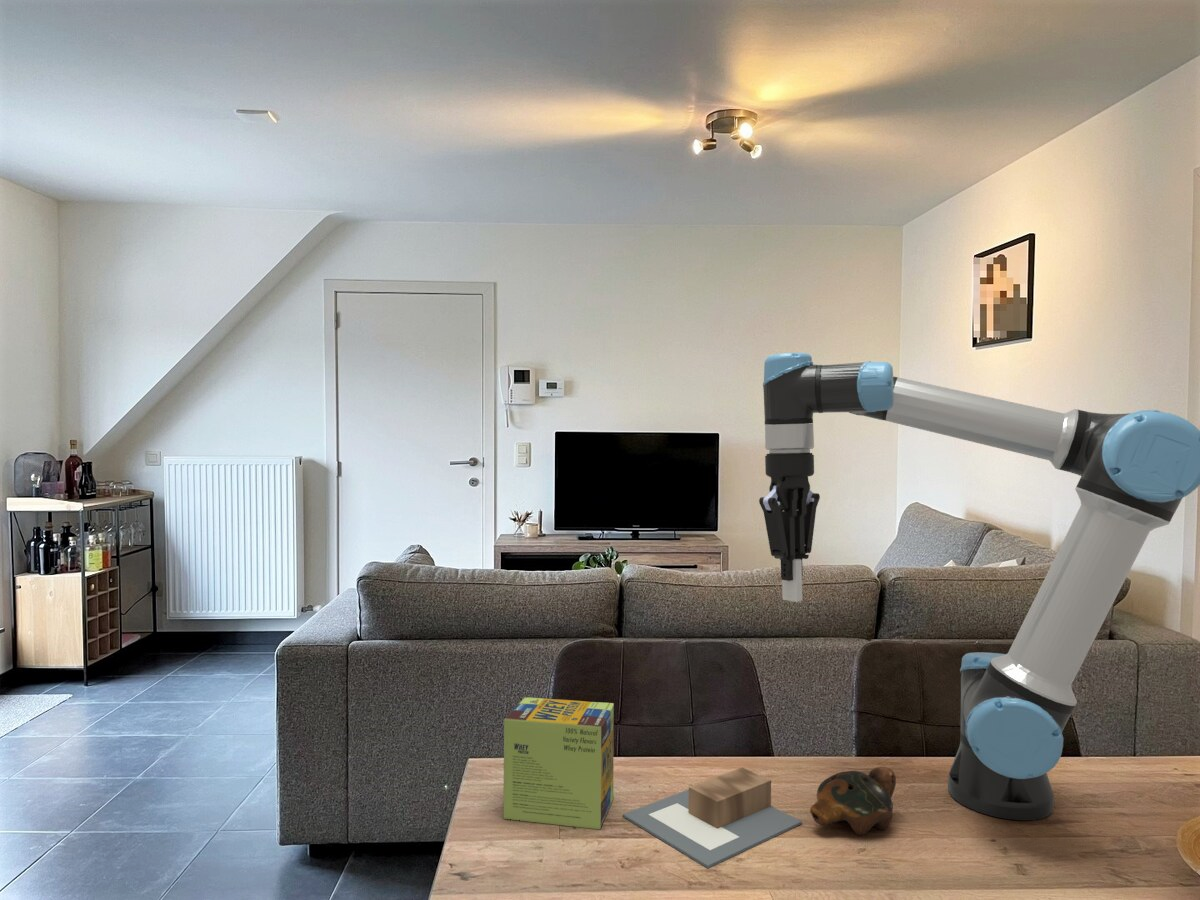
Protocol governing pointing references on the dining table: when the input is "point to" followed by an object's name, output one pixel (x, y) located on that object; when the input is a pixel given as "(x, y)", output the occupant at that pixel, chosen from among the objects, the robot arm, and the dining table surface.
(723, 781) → the walnut block
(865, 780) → the decorative turtle
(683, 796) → the mat
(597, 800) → the protein box
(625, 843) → the dining table surface
